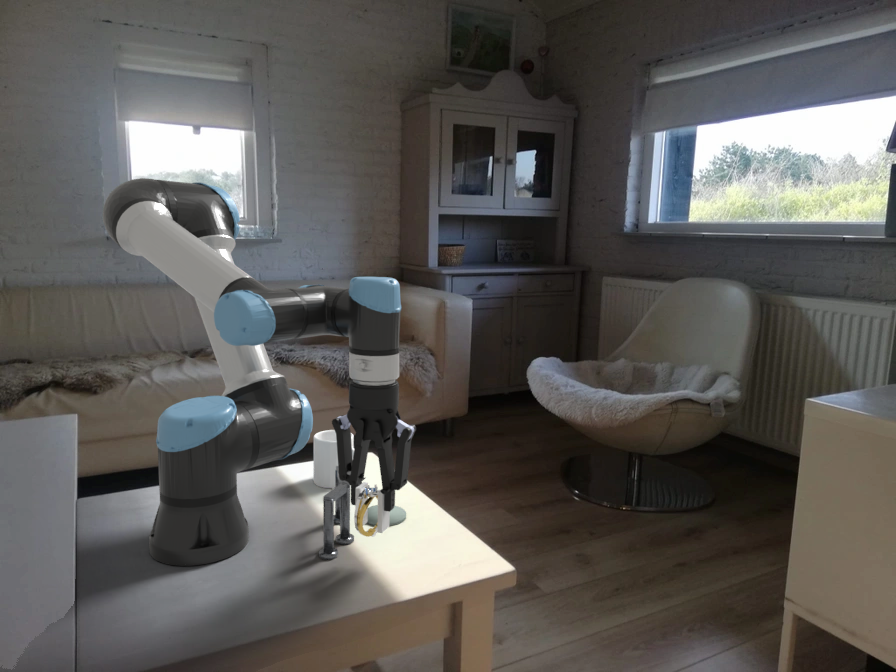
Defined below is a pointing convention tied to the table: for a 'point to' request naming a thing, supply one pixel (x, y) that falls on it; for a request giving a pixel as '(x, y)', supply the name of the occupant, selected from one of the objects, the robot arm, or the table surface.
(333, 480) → the mug
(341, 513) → the bent grey rail
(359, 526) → the ring
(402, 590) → the table surface
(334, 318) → the robot arm
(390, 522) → the felt coaster
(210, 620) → the table surface
